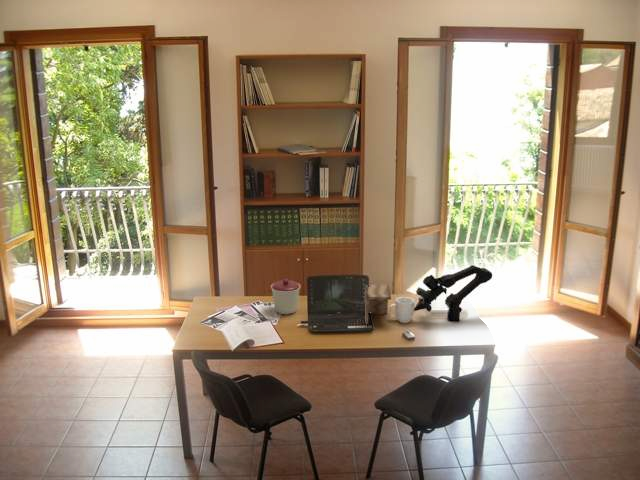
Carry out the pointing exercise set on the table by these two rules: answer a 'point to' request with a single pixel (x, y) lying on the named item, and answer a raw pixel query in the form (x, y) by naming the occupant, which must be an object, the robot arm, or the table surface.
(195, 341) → the table surface
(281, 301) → the canister
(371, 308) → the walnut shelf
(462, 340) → the table surface
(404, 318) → the mug
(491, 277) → the robot arm
